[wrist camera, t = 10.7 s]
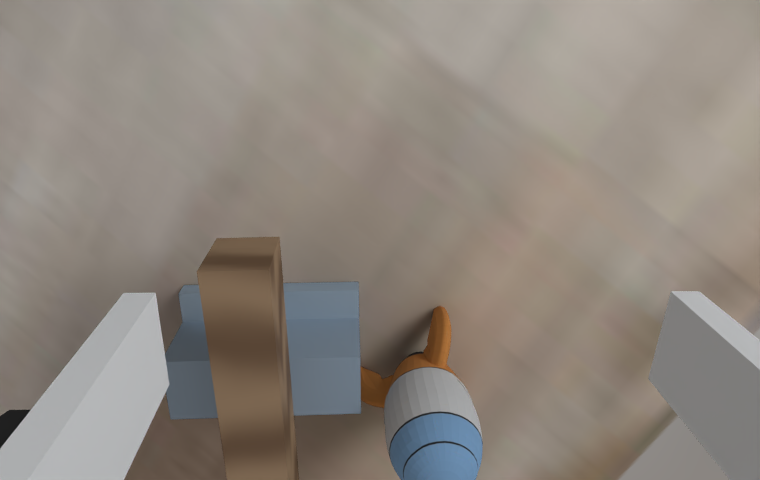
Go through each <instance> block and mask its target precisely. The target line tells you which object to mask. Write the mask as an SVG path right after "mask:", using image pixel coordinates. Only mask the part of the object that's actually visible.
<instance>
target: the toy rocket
mask: <svg viewBox="0 0 760 480" xmlns="http://www.w3.org/2000/svg"><path fill="white" fill-rule="evenodd" d="M427 342H428V345H427V347H426V349H425V350H424V352H415V353H412V354H410V355H409V356H408V357H407V358H406V359H405V360H403V361H402V362H401V363H400V364H399V366H398V367H397V369H396V371H395V373H394V375H391V376H389V377H388V378H384V379H382V378H381V376H380V375H379V374H377V373H375V372H372V371H370V370H367V369H365V368H363V367H360V375H361V400H362V401H363V402H365V403H367V404H369V405H372V406H376V407H382V408H384V423H385V435H386V444H387V449H388V453H389V456H390V459H391V463H392V465H393V467H394V469H395V471H396V473H397V474H398V476H399V477H400V479H401V480H475V479H476V477H477V473H478V471H479V467H480V464H481V459H482V445H483V442H482V433H481V428H480V423H479V419H478V415H477V412H476V410H475V408H474V405H473V401H472V399H471V397H470V395H469V393H468V391H467V389H466V387H465V386H464V384H463V383H462V382H461V380H460V379H459V378H458V377H457V376H456V374H455V373H454V372H453V371H452V370H451V369H450V368H449V367H448V365H447V359H448V355H449V350H450V343H451V325H450V320H449V316H448V314H447V311H446V309H445V308H444V307H441V306H439V307H437V308H435V309H434V312H433V316H432V321H431V326H430V331H429V335H428V341H427Z"/></svg>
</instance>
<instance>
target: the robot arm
mask: <svg viewBox="0 0 760 480" xmlns="http://www.w3.org/2000/svg"><path fill="white" fill-rule="evenodd" d="M648 379H649V380H650V382H651V383H652V384H653V385H654V386H655V388H656V389H657V390H658V391H659V393H660V394H661V395H662V396H663V398H664V399H665V400H666V401H667V403H668V404H669V405H670V406H671V408H672V409H673V410H674V411H675V413H676V414H677V415H678V416H679V417H680V419H681V420H682V421H683V422H684V424H685V425H686V426H687V427H688V429H689V430H690V431H691V432H692V434H693V435H694V436H695V437H696V439H697V440H698V441H699V442H700V444H701V445H702V446H703V447H704V448H705V450H706V451H707V452H708V453H709V455H710V456H711V457H712V458H713V460H714V461H715V462H716V463H717V464H718V466H719V467H720V468H721V470H722V471H723V472H724V473H725V475H726V476H727V477H728V478H729V479H730V480H760V340H759V339H758V338H756V337H755V336H754V335H753V334H751V333H750V332H749V331H748V330H746V329H745V328H744V327H743V326H741V325H740V324H739V323H738V322H737V321H735V320H734V319H733V318H732V317H730V316H729V315H728V314H727V313H725V312H724V311H723V310H722V309H720V308H719V307H718V306H717V305H716V304H714V303H713V302H712V301H711V300H709V299H708V298H707V297H706V296H704V295H703V294H702V293H701V292H699V291H672V292H671V293H670V297H669V301H668V305H667V309H666V313H665V316H664V320H663V324H662V328H661V332H660V336H659V340H658V343H657V347H656V351H655V355H654V359H653V363H652V367H651V370H650V374H649V378H648ZM168 386H169V379H168V372H167V365H166V359H165V352H164V345H163V339H162V332H161V326H160V319H159V312H158V306H157V299H156V293H123V294H122V296H121V297H120V298H119V299H118V301H117V302H116V303H115V305H114V306H113V307H112V308H111V310H110V311H109V312H108V313H107V315H106V316H105V317H104V318H103V320H102V321H101V322H100V323H99V325H98V326H97V327H96V328H95V330H94V331H93V332H92V334H91V335H90V336H89V337H88V339H87V340H86V341H85V342H84V344H83V345H82V346H81V347H80V349H79V350H78V351H77V352H76V354H75V355H74V356H73V357H72V359H71V360H70V361H69V363H68V364H67V365H66V366H65V368H64V369H63V370H62V371H61V373H60V374H59V375H58V376H57V378H56V379H55V380H54V381H53V383H52V384H51V385H50V386H49V388H48V389H47V390H46V392H45V393H44V394H43V395H42V397H41V398H40V399H39V400H38V402H37V403H36V404H35V405H34V407H33V408H32V409H31V410H9V411H7V412H6V413H4V414H3V415H1V416H0V480H124V478H125V476H126V474H127V472H128V470H129V468H130V466H131V464H132V462H133V459H134V457H135V455H136V453H137V451H138V449H139V447H140V445H141V443H142V441H143V439H144V436H145V434H146V432H147V430H148V428H149V426H150V424H151V422H152V420H153V418H154V416H155V413H156V411H157V409H158V407H159V405H160V403H161V401H162V399H163V397H164V395H165V393H166V390H167V388H168Z"/></svg>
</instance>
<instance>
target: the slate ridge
mask: <svg viewBox="0 0 760 480" xmlns="http://www.w3.org/2000/svg"><path fill="white" fill-rule="evenodd" d="M283 287H284V300H285V312H286V325H287V337H288V349H289V362H290V374H291V387H292V399H293V411H294V416H296V415H328V414H360V413H361V375H360V332H359V283H358V282H324V283H283ZM179 300H180V307H181V313H182V320H183V322H182V324H181V326H180V328H179V330H178V332H177V333H176V335H175V337H174V339H173V341H172V343H171V344H170V346H169V348H168V350H167V352H166V354H165V359H166V365H167V372H168V379H169V386H168V388H167V390H166V395H167V401H168V407H169V412H170V418H171V419H199V418H218V414H217V407H216V401H215V394H214V387H213V380H212V373H211V366H210V359H209V352H208V345H207V339H206V332H205V325H204V318H203V311H202V304H201V297H200V290H199V285H184V286H183V288H182V289H181V291H180V292H179Z"/></svg>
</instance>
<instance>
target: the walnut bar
mask: <svg viewBox="0 0 760 480" xmlns="http://www.w3.org/2000/svg"><path fill="white" fill-rule="evenodd" d="M197 277H198V283H199V290H200V297H201V304H202V311H203V318H204V325H205V332H206V339H207V345H208V352H209V359H210V366H211V373H212V380H213V387H214V394H215V401H216V407H217V414H218V421H219V428H220V435H221V442H222V449H223V456H224V462H225V469H226V476H227V480H299V473H298V461H297V449H296V436H295V424H294V411H293V399H292V387H291V374H290V362H289V349H288V337H287V325H286V312H285V300H284V287H283V275H282V262H281V250H280V238H279V237H254V238H217V239H216V241H215V242H214V244H213V246H212V247H211V249H210V251H209V252H208V254H207V256H206V257H205V259H204V261H203V262H202V264H201V266H200V267H199V269H198V271H197Z"/></svg>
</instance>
